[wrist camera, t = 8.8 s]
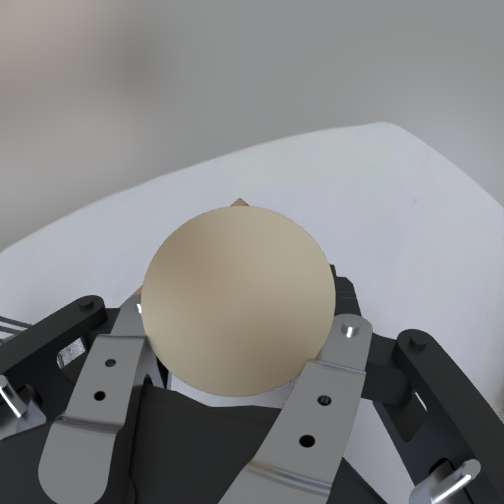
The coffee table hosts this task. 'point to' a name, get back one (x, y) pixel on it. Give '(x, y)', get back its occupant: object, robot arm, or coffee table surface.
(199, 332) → the banded peg
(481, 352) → the coffee table surface
